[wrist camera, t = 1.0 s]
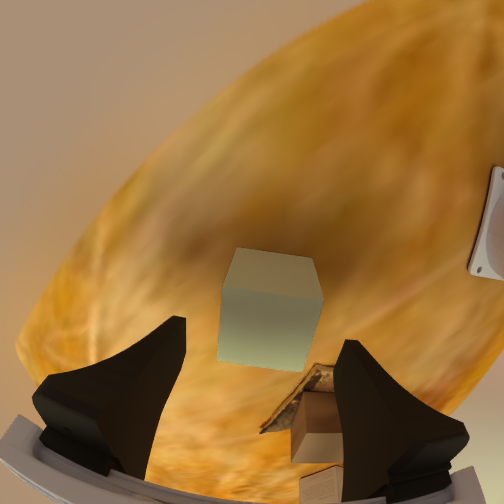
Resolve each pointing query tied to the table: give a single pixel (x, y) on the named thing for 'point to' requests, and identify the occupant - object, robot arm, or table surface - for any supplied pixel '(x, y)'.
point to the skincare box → (322, 487)
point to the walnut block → (317, 430)
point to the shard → (314, 382)
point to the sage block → (269, 310)
